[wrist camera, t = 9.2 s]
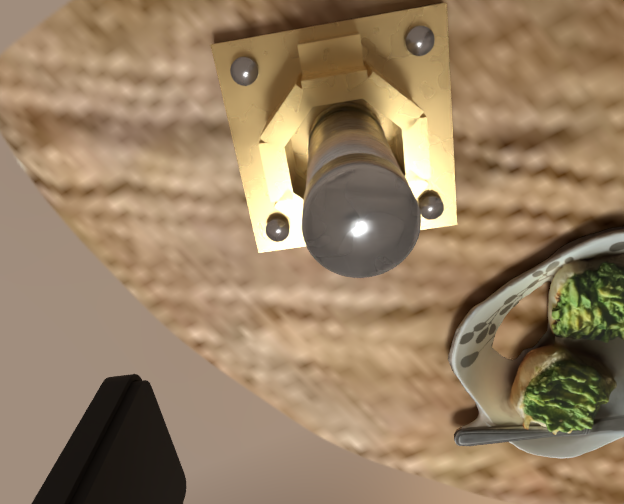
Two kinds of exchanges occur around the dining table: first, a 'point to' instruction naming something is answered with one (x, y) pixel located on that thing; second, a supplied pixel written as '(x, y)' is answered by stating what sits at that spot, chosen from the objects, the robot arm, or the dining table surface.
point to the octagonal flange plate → (333, 90)
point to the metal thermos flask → (356, 196)
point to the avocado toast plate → (551, 356)
